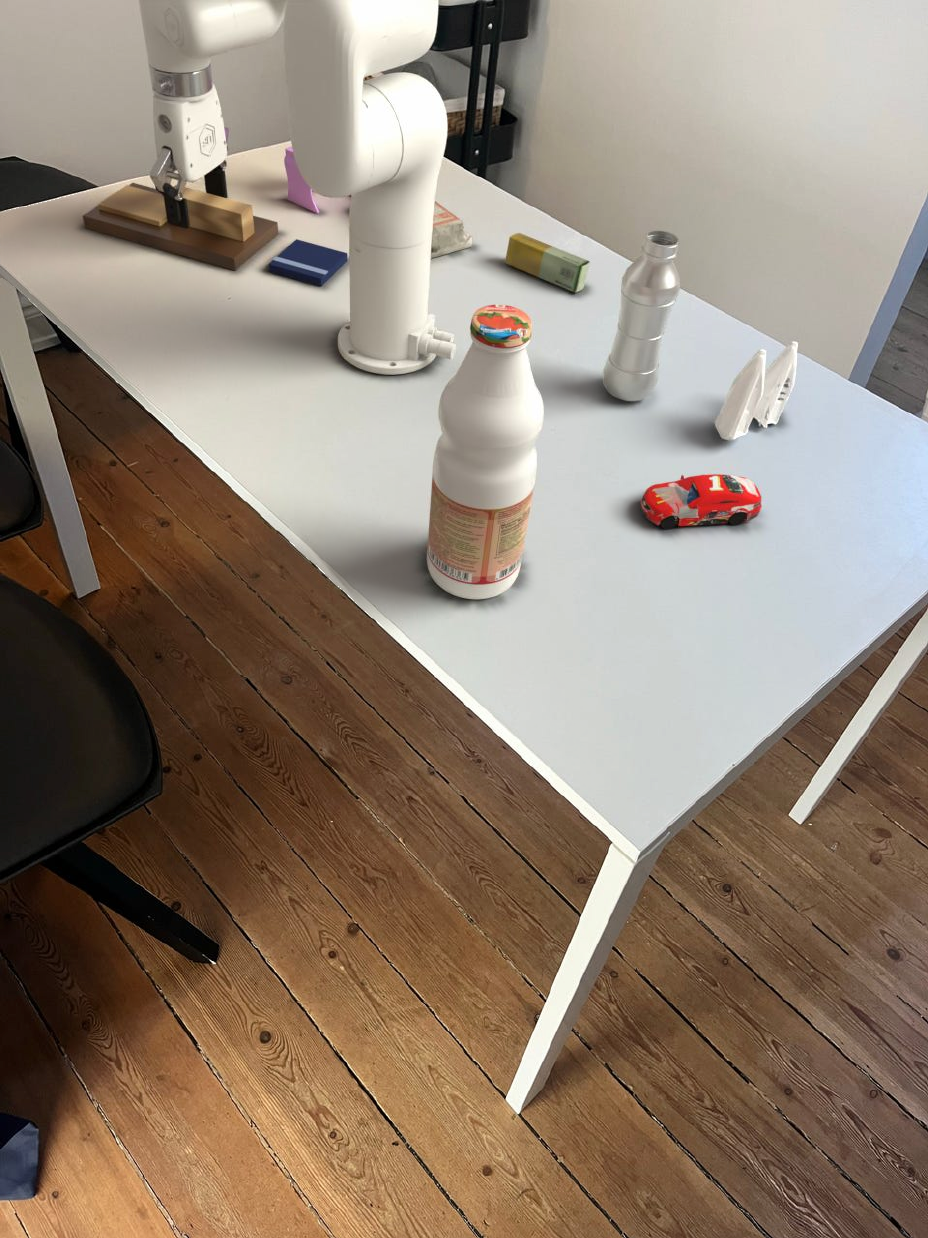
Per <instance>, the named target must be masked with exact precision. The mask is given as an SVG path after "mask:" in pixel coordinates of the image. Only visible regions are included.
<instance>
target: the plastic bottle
mask: <svg viewBox="0 0 928 1238" xmlns="http://www.w3.org/2000/svg"><path fill="white" fill-rule="evenodd" d="M679 244H680V239H679V237H678V236H677V235H676V234H674V233H672V232H669V231H666V230H659V229H656V230H649V231H648V232H647V233H646V234H645V235H644V240H643V244H642V245H641V248H640V253H641V255H640V256H639V257H638V258H637V259H635V260H634V261H633V262H632V263H631V264H630V265H629V266H627V268H626V270H625V272H624V274H623V276H622V278H621V283H620V284H621V285H620V286H621V287H620V288H621V289H620V306H619V315H618V323H617V329H616V333H615V336H614V339H613V342H612V345H611V349H610V352H609V354H608V356H607V359H606V360H605V364H604V367H603V369H602V370H603V371H602V383H603V386H604V388H605V390H606V391H607V393H609V395H610V396H612V397H614V398H615V399H618V400H621V401H624V402H638V401H643V400H644V399H646V398H648V397H649V396H650V395H651V394H653V392H654V390H655V388H656V385H657V383H658V381H659V374H660V373H659V372H660V357H661V349H662V342H663V337H664V336H665V335H664V334H665V330H666V328H667V324H668V321H669V318H670V315H671V313H672V312H673V311H672V310H673V309H674V305H675V303H676V301H677V298H678V296H679V293H680V290H681V278H680V275H679V272H678V269H677V266H676V265H675V263H674V260H675V259H676V258H677V254H678V247H679Z"/></svg>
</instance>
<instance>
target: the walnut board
mask: <svg viewBox="0 0 928 1238" xmlns="http://www.w3.org/2000/svg"><path fill="white" fill-rule="evenodd" d="M128 186H132V187H135V188H139V189H143V190H146V191H150V192H154V193H157V194H160V193H159V192H158V191H157V190H156V188H155V187H150V186H147V185H143V184H141V183H140V184H139V183H136V182H131V183H130V184H128ZM82 219H83V225H84V228H85V229H88V230H92V231H95V232H98V233H102V234H106V235H109V236H113V237H116V238H119V239H123V240H126V241H130V242H133V243H137V244H140V245H145V246H148V247H151V248H154V249H158V250H162V251H165V252H168V253H172V254H175V255H178V256H182V257H185V258H190V259H192V260H195V261H200V262H203V263H206V264H211V265H214V266H217V267H221V268H223V269H228V270H231V271H235V272H236V271H237V270H238V269H240V267H241V266H243V265H244V264H245V263H247V261H249V260H250V259H251V258H252V257H253V256H254V255H256V254H257V253H258V252H259V251H261V249H263V248H264V247H265V246H266V245H268V243H270V242H271V241H272V240H273V239H275V237H277V236H278V235H279V225H278V221H274V220H271V219H268V218H264V217H260V216H257V215H253V221H254V234H253V235H251V236H250V237H249V238H248V239H247V240H245V241H244V242H242V241H239V240H235V239H232V238H228V237H225V236H221V235H217V234H214V233H210V232H207V231H203V230H199V229H196V228H192V227H188V228H187V229H186V228H182V227H178V226H175V225H171V224H169V223H168V222H166V223H164V224H163V225H162V226H160V227H159V226H156V225H152V224H149V223H145V222H142V221H138V220H135V219H131V218H127V217H124V216H120V215H117V214H113V213H110V212H106V211H102V210H99V208H98V205H96V206H95V207H93V208H92V209H90V210H89V211H87V212H86V213H84V214H83V215H82Z"/></svg>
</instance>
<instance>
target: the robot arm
mask: <svg viewBox="0 0 928 1238" xmlns="http://www.w3.org/2000/svg"><path fill="white" fill-rule="evenodd" d="M439 1H440V0H138V3H139V10H140V16H141V24H142V29H143V30H142V31H143V36H144V42H145V50H146V55H147V64H148V70H149V77H150V83H151V90H152V93H153V96H152V114H153V115H152V117H153V134H154V143H155V151H156V157H157V158H156V160H155V162H154V164H153V166H152V168H151V169H150V171H149V178H150V180H151V182H152V183H153V185H154V189H156V190H157V191H158V192H159V193H160V195H161V196H163V197H164V203H165V209H166V216H167V222H168V223H169V224H171V225H175V226H178V227H182V228H186V229H187V228H188V227H189V226H190V221H189V214H188V207H187V200H186V198H183V194H184V190H185V187H186V186H187V183H191V184H192V183H196V182H197V181H198V180H200V179H202V178H203V179H204V187H205V193H208V194H212V195H216V196H220V197H223V198H227V199H229V198H228V196H229V195H228V186H227V176H226V169H227V166H228V163H227V160H226V159H227V157H228V152H229V147H228V141H229V133H230V129H229V128H228V127H226V126H225V123H224V118H223V112H222V108H221V102H220V99H219V95H218V92H217V89H216V86H215V83H213V77H212V66H211V57H214V56H218V55H223V54H225V53H228V52H230V51H234V50H238V49H242V48H247V47H251V46H254V45H259V44H262V43H264V42H267V41H268V40H269V39H271V38H272V37H273V36H274V35H275V34H276V32H278V30H279V28H280V27H281V25H282V23H283V25H282V26H283V27H282V28H283V31H282V32H283V49H284V50H283V51H284V68H285V82H286V83H285V84H286V95H287V97H286V98H287V112H288V125H289V126H288V127H289V136H290V143H291V146H292V150H293V154H294V158H295V162H296V164H297V167H298V169H299V172H300V174H301V176H302V177H303V179H304V180H305V182H306V183H307V184H308V186H309V187H310V188H311V189H312V191H314V192H315V193H316V194H318V195H320V196H322V197H325V198H330V199H340V198H345V197H348V196H350V195H352V196H351V197H350V201H349V210H348V211H349V212H348V239H349V240H348V248H349V249H348V251H349V252H348V253H349V254H348V255H349V257H348V258H349V259H348V261H349V262H348V263H349V265H348V266H349V268H348V269H349V321H348V322H347V323H345V324H344V325H343V326H342V327H341V329H339V332H338V334H337V348H338V349H337V350H338V351H339V354H340V355H341V356H342V358H343V359H344V360H345V361H347V362H348V363H349V364H350V365H352V366H354V367H355V368H357V369H360V370H362V371H365V372H367V373H372V374H373V373H374V374H378V375H388V376H389V375H392V376H393V375H394V376H395V375H405V374H410V373H413V372H416V371H419V370H421V369H423V368H425V367H427V366H428V365H430V364H431V363H432V362H433V361H434V360H435V358H436V356H438V357H442V358H443V359H448V360H451V361H453V359H454V358H455V356H456V353H457V344H456V343H454V340H455V334H454V333H453V332H448V331H443V330H440V329H438V327H436V326H435V322H436V315H435V314H433V313H429V312H428V311H429V295H430V278H431V277H430V276H431V259H432V258H431V242H432V231H433V214H434V202H435V201H436V192H437V186H438V180H439V175H440V171H441V167H442V163H443V159H444V155H445V150H446V147H447V139H448V128H449V127H448V115H447V110H446V107H445V103H444V101H443V98H442V96H441V94H440V93H439V91H438V89H437V88H436V87H435V86H434V85H433V84H432V83H431V81H429V80H428V79H426V78H424V77H422V76H421V75H419V74H415V73H414V72H413V73H412V72H405V71H404V72H402V71H401V72H391V73H387V74H382V75H379V76H375V77H373V78H369V79H366V80H364V79H365V78H367V77H369V76H372V75H375V74H378V73H382V72H386V71H388V70H393V69H396V68H398V67H401V66H405V65H407V64H409V63H412V62H414V61H416V60H417V59H420V58H421V57H424V55H426V54H427V53H428V52H429V50H430V49H431V47H432V45H433V44H434V42H435V38H436V34H437V28H438V17H439ZM172 180H176V181H177V183H176V185H177V186H176V189H175V188H174V186H173V185H172Z"/></svg>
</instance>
